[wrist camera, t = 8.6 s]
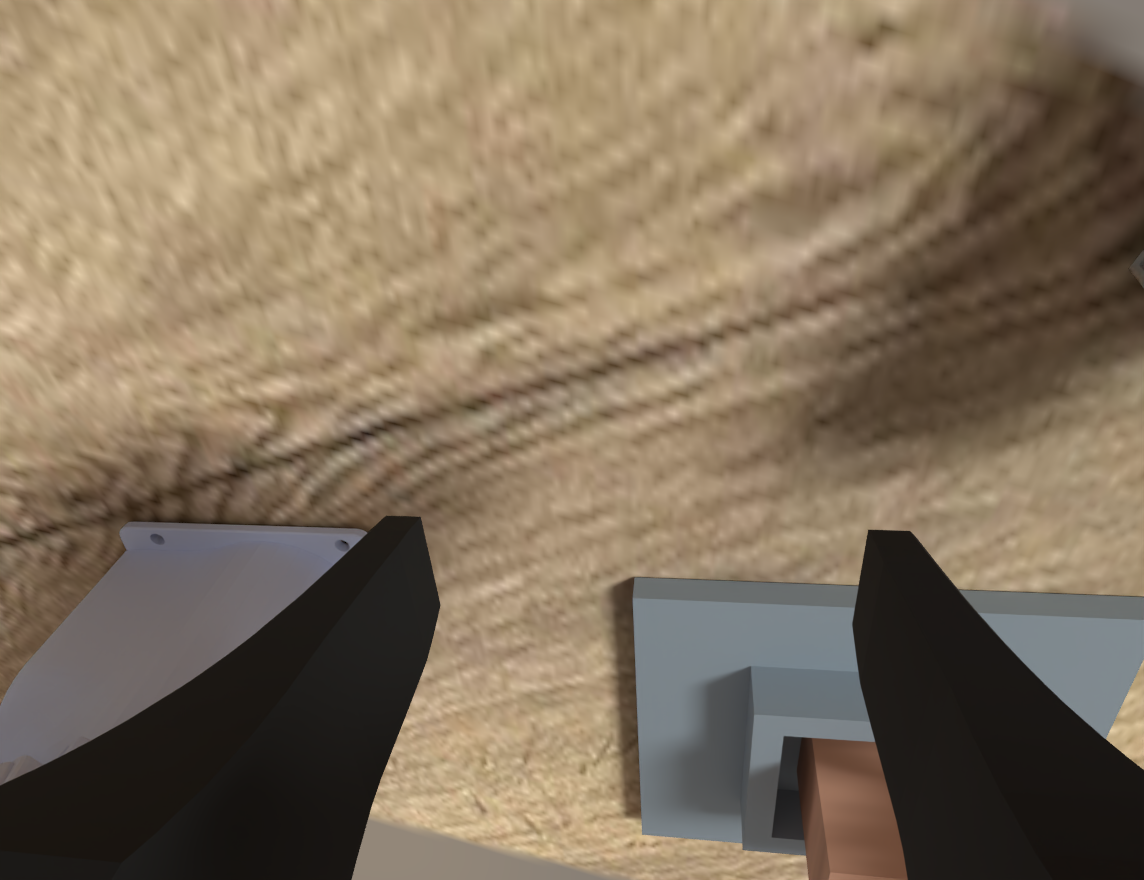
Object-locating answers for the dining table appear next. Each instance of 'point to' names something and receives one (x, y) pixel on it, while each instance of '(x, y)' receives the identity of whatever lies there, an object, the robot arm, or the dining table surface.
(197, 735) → the robot arm
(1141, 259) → the food container
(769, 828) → the base board
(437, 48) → the dining table surface
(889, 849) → the terracotta block
